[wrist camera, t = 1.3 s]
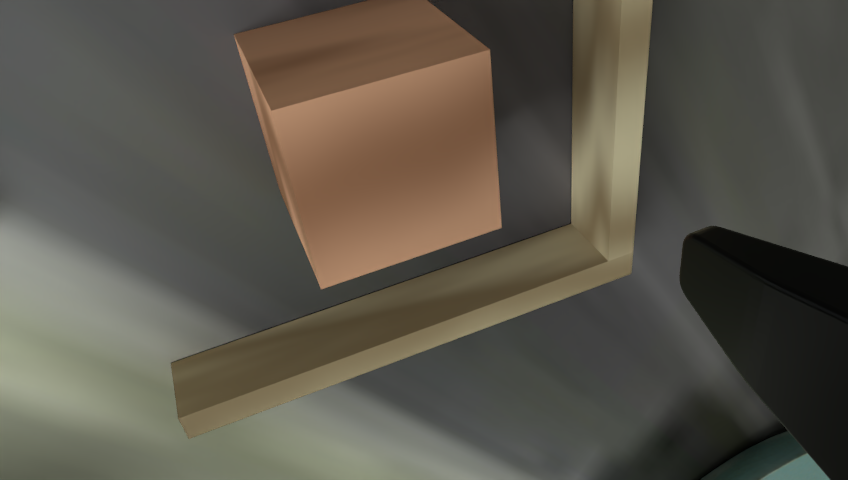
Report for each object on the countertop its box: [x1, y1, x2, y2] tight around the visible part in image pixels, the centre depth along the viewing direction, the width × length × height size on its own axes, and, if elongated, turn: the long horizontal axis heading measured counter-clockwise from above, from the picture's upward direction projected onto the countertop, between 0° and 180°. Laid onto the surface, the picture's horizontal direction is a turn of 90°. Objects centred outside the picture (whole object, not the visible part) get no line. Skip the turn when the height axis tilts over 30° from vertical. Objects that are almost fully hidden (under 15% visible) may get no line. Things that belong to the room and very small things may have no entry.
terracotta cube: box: [234, 0, 502, 289], centre depth 19 cm, size 5×5×5 cm
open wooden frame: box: [171, 0, 653, 439], centre depth 20 cm, size 17×16×2 cm
